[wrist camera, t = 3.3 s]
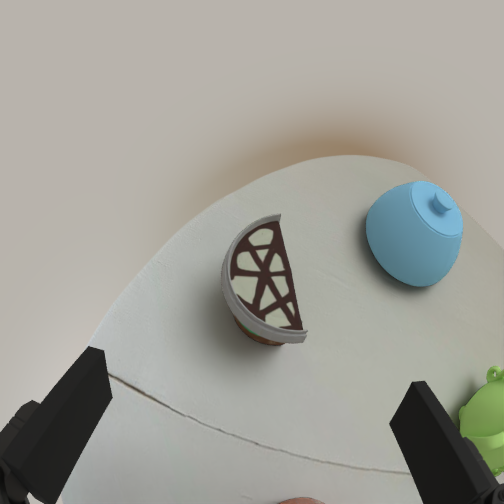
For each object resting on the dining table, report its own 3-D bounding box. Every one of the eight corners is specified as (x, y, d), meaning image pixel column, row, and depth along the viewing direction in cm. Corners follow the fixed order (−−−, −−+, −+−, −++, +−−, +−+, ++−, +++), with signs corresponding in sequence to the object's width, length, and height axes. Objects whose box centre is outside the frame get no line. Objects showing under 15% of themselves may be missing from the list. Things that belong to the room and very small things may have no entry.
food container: (216, 263, 35) (214, 213, 27) (266, 258, 36) (279, 208, 28) (228, 365, 29) (230, 348, 21) (285, 357, 30) (309, 337, 22)
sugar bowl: (352, 200, 43) (381, 144, 33) (427, 212, 44) (462, 167, 33) (369, 291, 35) (416, 245, 25) (450, 292, 36) (500, 255, 26)
